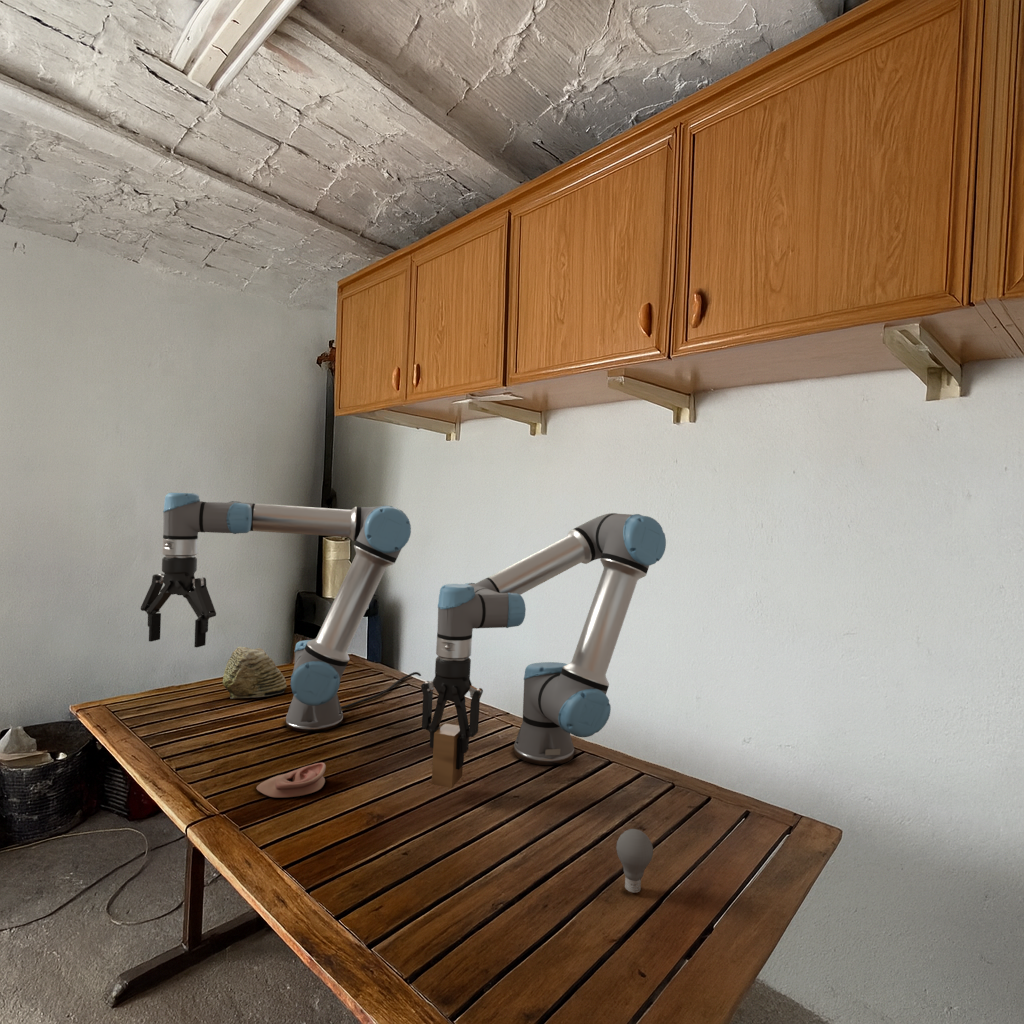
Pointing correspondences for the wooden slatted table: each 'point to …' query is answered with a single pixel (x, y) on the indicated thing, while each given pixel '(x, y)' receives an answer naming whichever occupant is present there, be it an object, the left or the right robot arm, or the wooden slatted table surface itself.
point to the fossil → (252, 674)
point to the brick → (445, 756)
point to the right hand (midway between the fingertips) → (447, 764)
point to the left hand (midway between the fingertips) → (176, 643)
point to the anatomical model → (295, 782)
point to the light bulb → (634, 857)
